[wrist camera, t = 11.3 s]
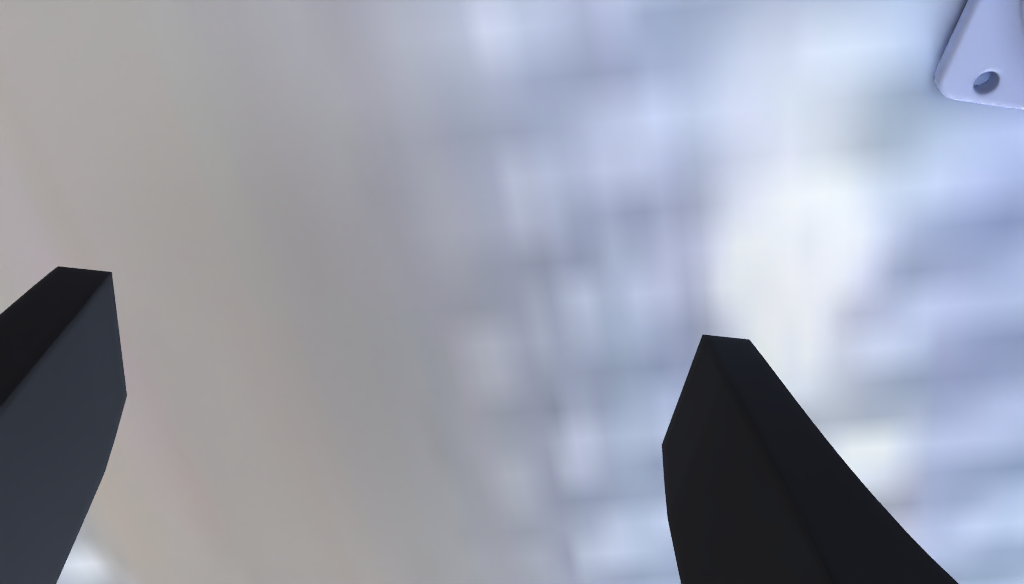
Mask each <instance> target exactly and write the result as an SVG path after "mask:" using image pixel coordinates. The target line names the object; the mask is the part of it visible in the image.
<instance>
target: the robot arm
mask: <svg viewBox="0 0 1024 584" xmlns="http://www.w3.org/2000/svg"><path fill="white" fill-rule="evenodd" d="M991 71H992V76H991V77H990V78H989V80H988V81H987V82H985V83H983V84H981V85H975V86H974V82H975V80H976V79H977V78H978V76H979V75H981V74H983V73H985V72H991ZM934 80H935V84H936V86H937V87H938V89H939V90H940V91H941V93H942V94H943V95H944V96H945V97H947V98H950V99H953V100H958V101H965V102H972V103H979V104H986V105H993V106H1000V107H1007V108H1013V109H1020V110H1024V0H968V1H967V3H966V6H965V8H964V10H963V12H962V14H961V16H960V19H959V21H958V23H957V25H956V27H955V29H954V31H953V34H952V36H951V38H950V40H949V42H948V44H947V46H946V49H945V51H944V53H943V55H942V57H941V59H940V61H939V64H938V66H937V68H936V71H935V75H934ZM126 397H127V393H126V385H125V376H124V368H123V360H122V352H121V344H120V336H119V328H118V320H117V311H116V303H115V295H114V287H113V279H112V272H106V271H96V270H87V269H77V268H68V267H57V268H55V269H54V270H53V271H51V272H50V273H49V274H48V275H46V276H45V277H44V278H43V279H42V280H40V281H39V282H38V283H37V284H35V285H34V286H33V287H32V288H31V289H30V290H28V291H27V292H26V293H25V294H24V295H23V296H21V297H20V298H19V299H18V300H17V301H15V302H14V303H13V304H12V305H11V306H10V307H8V308H7V309H6V310H5V311H4V312H3V313H1V314H0V584H56V583H57V580H58V578H59V576H60V574H61V571H62V569H63V567H64V565H65V562H66V560H67V558H68V555H69V553H70V551H71V549H72V546H73V544H74V542H75V540H76V537H77V535H78V533H79V531H80V528H81V526H82V524H83V521H84V519H85V517H86V514H87V512H88V510H89V507H90V505H91V503H92V501H93V498H94V496H95V494H96V491H97V489H98V487H99V484H100V482H101V479H102V477H103V475H104V472H105V470H106V466H107V463H108V460H109V457H110V453H111V450H112V447H113V443H114V440H115V437H116V433H117V429H118V426H119V422H120V419H121V415H122V411H123V408H124V404H125V400H126ZM662 453H663V468H664V483H665V494H666V505H667V516H668V522H669V527H670V532H671V537H672V542H673V547H674V551H675V556H676V561H677V566H678V571H679V575H680V580H681V584H958V583H957V582H956V581H955V580H954V579H953V578H952V577H951V576H950V575H949V574H948V573H947V572H946V571H945V570H944V569H943V568H942V567H941V566H940V565H938V564H937V563H936V562H935V561H934V560H933V559H932V558H931V557H930V556H929V555H928V554H927V553H926V552H925V551H924V550H923V549H922V548H921V547H920V546H919V545H918V544H917V543H916V541H915V540H914V539H913V538H912V537H911V536H910V535H909V534H908V533H907V532H906V531H905V530H904V529H903V528H902V527H901V525H900V524H899V523H898V522H897V521H896V520H895V519H894V518H893V517H892V516H891V514H890V513H889V512H888V511H887V510H886V509H885V508H884V507H883V506H882V505H881V503H880V502H879V501H878V500H877V499H876V498H875V497H874V496H873V495H872V493H871V492H870V491H869V490H868V489H867V488H866V486H865V485H864V484H863V483H862V482H861V481H860V479H859V478H858V477H857V476H856V475H855V474H854V473H853V471H852V470H851V469H850V468H849V466H848V465H847V464H846V463H845V462H844V460H843V459H842V458H841V457H840V456H839V454H838V453H837V452H836V451H835V449H834V448H833V447H832V446H831V445H830V443H829V442H828V441H827V440H826V438H825V437H824V436H823V435H822V433H821V432H820V431H819V429H818V428H817V427H816V426H815V424H814V423H813V422H812V421H811V419H810V418H809V417H808V415H807V414H806V413H805V411H804V410H803V409H802V408H801V406H800V405H799V404H798V402H797V401H796V400H795V398H794V397H793V396H792V395H791V393H790V392H789V391H788V389H787V388H786V387H785V385H784V384H783V383H782V381H781V380H780V379H779V377H778V376H777V375H776V373H775V372H774V371H773V370H772V368H771V367H770V366H769V364H768V363H767V362H766V360H765V359H764V358H763V356H762V355H761V354H760V353H759V351H758V350H757V349H756V347H755V346H754V345H753V344H752V342H751V341H750V340H748V339H739V338H729V337H720V336H711V335H702V338H701V341H700V343H699V346H698V349H697V351H696V354H695V357H694V359H693V362H692V365H691V368H690V370H689V373H688V376H687V378H686V381H685V384H684V387H683V389H682V392H681V395H680V397H679V400H678V403H677V405H676V408H675V411H674V414H673V416H672V419H671V422H670V424H669V427H668V430H667V433H666V435H665V438H664V441H663V443H662Z"/></svg>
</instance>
